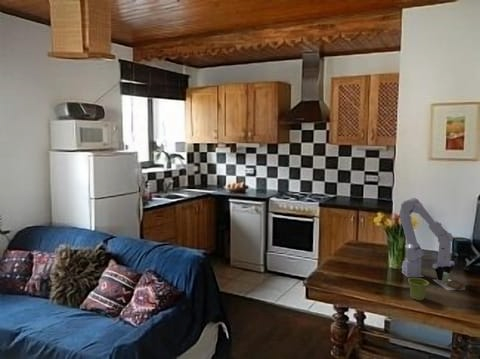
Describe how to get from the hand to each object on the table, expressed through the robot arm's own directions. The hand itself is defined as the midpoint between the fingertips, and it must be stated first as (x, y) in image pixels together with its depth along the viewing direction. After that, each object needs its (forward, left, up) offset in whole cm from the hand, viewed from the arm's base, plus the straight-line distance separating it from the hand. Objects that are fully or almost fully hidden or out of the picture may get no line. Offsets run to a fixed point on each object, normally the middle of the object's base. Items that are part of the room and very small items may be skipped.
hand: (442, 279), depth 217 cm
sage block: (0, 0, -1) cm, 1 cm away
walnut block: (+3, -7, -1) cm, 8 cm away
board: (+1, -4, -2) cm, 5 cm away
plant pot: (-24, -18, -2) cm, 30 cm away
